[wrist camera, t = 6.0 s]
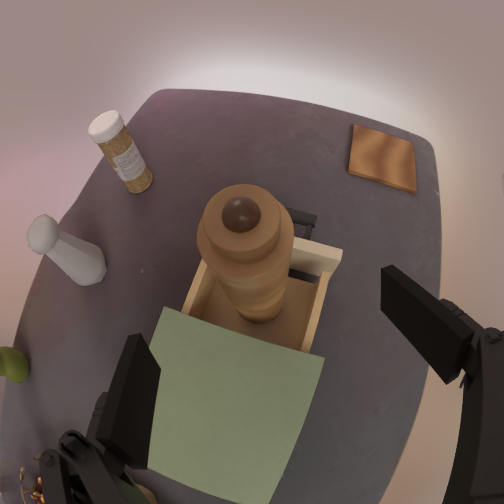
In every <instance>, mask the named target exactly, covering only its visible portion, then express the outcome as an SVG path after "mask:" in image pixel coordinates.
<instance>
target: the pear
mask: <svg viewBox="0 0 504 504" xmlns="http://www.w3.org/2000/svg"><path fill="white" fill-rule="evenodd" d="M28 375H29V363H28V361H27V359H26V357H25V356H24V354H23V353H21V352H20V351H19V350H17V349H14V348H10V347H0V376H4V377H6V378H7V379H9V380H10V381H12V382H14V383H21V382H23V381H25V380H26V379H27V377H28Z"/></svg>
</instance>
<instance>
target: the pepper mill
mask: <svg viewBox="0 0 504 504" xmlns="http://www.w3.org/2000/svg"><path fill="white" fill-rule="evenodd" d="M293 241H294V226H293V222H292V219H291V217H290V215H289V213H288V211H287V210H286V209H285V207H284V206H283V205H282V204H281V203H280V202H278V201H277V200H276V199H275V198H274V197H273V196H272V195H271V194H270V193H269V192H268V191H266V190H265V189H263V188H261V187H258V186H255V185H250V184H238V185H233V186H229V187H227V188H225V189H223V190H221V191H219V192H218V193H217V194H215V195H214V196H213V197H212V198H211V199H210V201H209V202H208V204H207V206H206V208H205V210H204V214H203V216H202V218H201V220H200V223H199V225H198V229H197V246H198V250H199V252H200V255H201V256H202V258H203V260H204V261H205V263H206V265H207V266H208V268H209V269H210V271H211V272H212V274H213V275H214V277H215V278H216V280H217V281H218V283H219V284H220V286H221V287H222V289H223V290H224V292H225V293H226V295H227V296H228V298H229V299H230V301H231V302H232V304H233V305H234V307H235V308H236V310H237V311H238V313H239V314H240V315H241V317H242V318H243V319H245V320H246V321H248V322H250V323H253V324H266V323H269V322H271V321H272V320H274V319H275V318H276V317H277V316H278V315H279V314H280V312H281V310H282V307H283V302H284V296H285V290H286V285H287V279H288V273H289V267H290V261H291V254H292V248H293Z"/></svg>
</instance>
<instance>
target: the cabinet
mask: <svg viewBox="0 0 504 504" xmlns="http://www.w3.org/2000/svg"><path fill="white" fill-rule="evenodd" d="M149 349H150V351H151V353H152V354H153V356H154V358H155V360H156V361H157V363H158V365H159V366H160V368H161V374H160V380H159V386H158V392H157V398H156V404H155V411H154V418H153V425H152V432H151V440H150V448H149V457H148V468H150V469H152V470H154V471H156V472H158V473H160V474H162V475H164V476H166V477H169V478H171V479H173V480H175V481H178V482H180V483H182V484H185V485H187V486H189V487H192V488H194V489H197V490H200V491H202V492H205V493H208V494H211V495H214V496H217V497H220V498H223V499H226V500H229V501H232V502H236V503H239V504H268V503H269V501H270V499H271V497H272V495H273V493H274V491H275V489H276V487H277V485H278V483H279V481H280V478H281V476H282V474H283V472H284V470H285V467H286V465H287V463H288V460H289V458H290V456H291V453H292V451H293V449H294V446H295V444H296V441H297V439H298V436H299V434H300V431H301V428H302V426H303V423H304V420H305V418H306V415H307V412H308V409H309V407H310V404H311V401H312V398H313V395H314V392H315V389H316V386H317V383H318V380H319V377H320V373H321V370H322V367H323V364H324V360H325V357H321V356H317V355H313V354H309V353H306V352H302V351H298V350H294V349H291V348H287V347H284V346H280V345H277V344H273V343H270V342H267V341H263V340H260V339H257V338H254V337H250V336H247V335H244V334H241V333H238V332H235V331H232V330H229V329H226V328H223V327H220V326H217V325H214V324H211V323H208V322H206V321H203V320H200V319H197V318H195V317H192V316H189V315H187V314H184V313H181V312H179V311H176V310H173V309H171V308H168V307H166V306H164V308H163V310H162V313H161V316H160V318H159V321H158V324H157V326H156V329H155V332H154V335H153V337H152V340H151V343H150V346H149Z"/></svg>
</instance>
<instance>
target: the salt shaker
mask: <svg viewBox="0 0 504 504" xmlns="http://www.w3.org/2000/svg"><path fill="white" fill-rule="evenodd" d="M27 244H28V246H29V247H30V248H31V249H32V250H33V251H34V252H35V253H37V254H40V255H41V254H47V255H48V256H49V257H50V258H51V259H52V260H53V261H54V262H55V263H56V264H57V265H58V266H59V267H60V268H61V269H62V270H63V271H64V272H65V273H66V274H67V275H68V276H69V277H70V278H72V279H73V280H74V281H75V282H76V283H78V284H79V285H82V286H88V285H92V284H95V283H98V282H101V281H102V279H103V277H104V275H105V273H106V271H107V268H106V264H105V259H104V255H103V253H102V251H101V249H100V248H99V247H98V246H96V245H94V244H91V243H89V242H86V241H84V240H81V239H79V238H77V237H74V236H72V235H70V234H68V233H66V232H63V231H61V230H59V227H58V224H57V222H56V221H55V220H54V219H53V218H52V217H50V216H48V215H46V214H44V215H40V216H38V217H37V218H36V219H35V220H34V221H33V222H32V223H31V225H30V227H29V229H28V232H27Z"/></svg>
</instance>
